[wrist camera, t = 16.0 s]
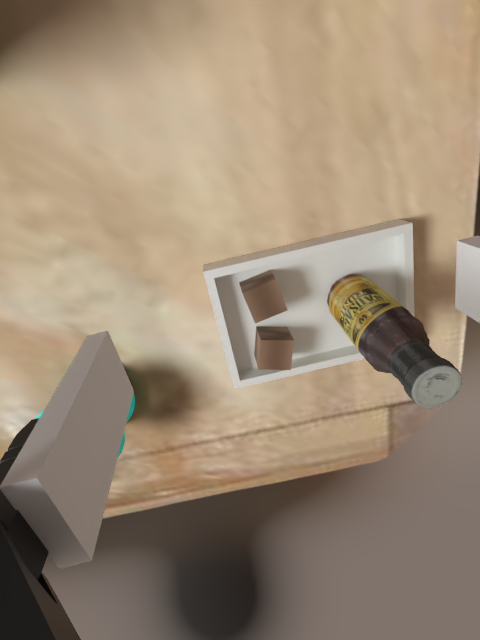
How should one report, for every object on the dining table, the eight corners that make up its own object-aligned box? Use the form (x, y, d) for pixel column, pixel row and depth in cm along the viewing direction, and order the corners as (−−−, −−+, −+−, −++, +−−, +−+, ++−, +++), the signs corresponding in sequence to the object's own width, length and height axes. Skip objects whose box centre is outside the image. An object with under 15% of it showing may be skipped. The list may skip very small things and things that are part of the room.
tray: (232, 376, 50) (234, 389, 47) (203, 265, 44) (203, 271, 41) (403, 336, 50) (415, 346, 47) (399, 219, 44) (412, 222, 41)
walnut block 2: (254, 354, 48) (258, 369, 44) (256, 326, 46) (260, 340, 43) (284, 354, 48) (290, 369, 45) (287, 326, 47) (294, 340, 43)
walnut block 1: (251, 310, 46) (255, 323, 42) (239, 282, 44) (242, 293, 40) (281, 298, 45) (287, 310, 42) (269, 269, 44) (275, 279, 40)
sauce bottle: (346, 262, 44) (445, 329, 26) (382, 289, 46) (499, 369, 28) (312, 305, 46) (384, 396, 28) (349, 329, 48) (438, 430, 30)
